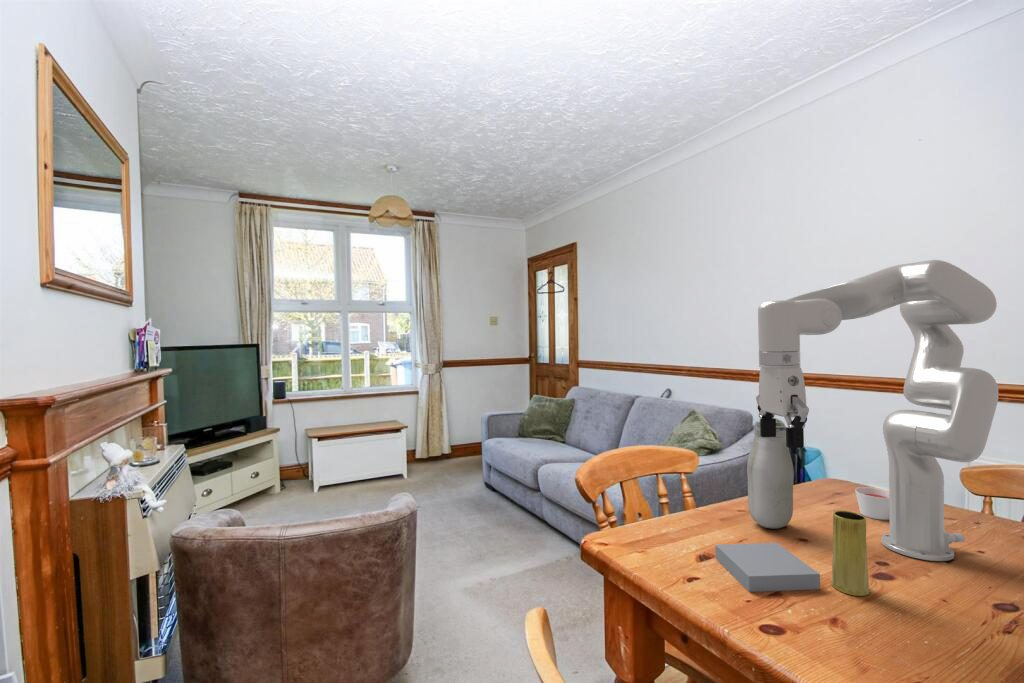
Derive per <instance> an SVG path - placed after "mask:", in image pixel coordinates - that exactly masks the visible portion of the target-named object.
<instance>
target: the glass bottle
mask: <svg viewBox="0 0 1024 683" xmlns="http://www.w3.org/2000/svg"><path fill="white" fill-rule="evenodd" d="M774 418H775V419H776V437H761V436H760V419H761V418H759V419H758V420H756V422H755V423H754V425H753V432H754V435H753V440H752V444H751V448H750V451H749V453H748V458H747V464H746V465H747V469H746V470H747V474H746V475H747V504H748V511H749V514H750V516H751V519H752V520H753V521H754V522H755V523H756V524H757V525H759V526H761V527H763V528H766V529H781V528H784V527H786V526H788V524H789V523H790V522H791V520H792V517H793V514H794V480H795V479H794V474H795V473H794V464H793V461H792V456H791V453H790V450H789V449H790V448H788V447H787V446H786V424H785V423H784V422H783V421H782V420H781V419H779V418H777V417H774Z"/></svg>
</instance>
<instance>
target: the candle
mask: <svg viewBox="0 0 1024 683" xmlns="http://www.w3.org/2000/svg"><path fill="white" fill-rule="evenodd" d="M854 491H855V495H856V496H855V497H856V499H857V500H856V501H857V505H858V509H859V512H860V513H859V514H861V515H863V516H865V517H866V518H870V519H874V520H880V521H888V520H889V521H890V515H889V489H885V488H878V487H873V486H872V487H870V486H869V487H868V486H867V487H866V486H861V487H856V488H855V489H854Z"/></svg>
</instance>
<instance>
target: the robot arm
mask: <svg viewBox="0 0 1024 683" xmlns="http://www.w3.org/2000/svg"><path fill="white" fill-rule="evenodd" d="M898 305H899V312H900V315H901V317H902V318H903V320H904V321H905V323H906V324H907V326H908V328H909V329H910V332H911V334H912V337H913V340H914V348H913V353H912V356H911V357H912V358H911V360H910V362H909V366H908V370H907V373H906V377H905V381H904V384H903V396H904V398H905V399H906V401H908V402H909V403H911V404H912V405H916V406H921V407H925V408H932V409H938V410H946V411H947V410H948V411H951V412H950V414H945V413H937V412H932V411H931V412H930V411H924V410H915V409H899V410H894V411H892V412H891V413H888V415H887V416H885V419H884V421H883V423H882V424H883V425H882V432H883V433H882V434H883V438H884V442H885V446H886V451H887V458H888V469H889V470H888V491H889V515H890V519H889V533H885V534H883V535H881V539H880V540H881V543H882V545H883V546H884V547H885V548H887V549H889V550H890V551H893V552H895V553H896V554H897V553H898V554H900V555H902V556H906V557H910V558H913V559H917V560H923V561H930V562H947V561H951V560H953V559H954V557H955V551H954V550H953V548H951V547H950V544H952V543H964V542H965V541H966V537H965V535H963V533H961V532H952V533H949V532H948V531H947V530H945V478H944V472H943V469H942V467H941V465H940V464H939V461H938V460H937V459H941V460H942V459H943V460H947V461H951V462H952V461H953V462H956V463H971V462H974V461H975V460H977V459H978V458H980V457H981V455H982V454H983V452H984V450H985V448H986V444H987V442H988V439H989V434H990V431H991V428H992V424H993V420H994V417H995V413H996V410H997V406H998V402H999V394H1000V393H999V387H998V383H997V381H996V379H995V377H994V375H992V374H991V373H990V372H987V371H986V370H983V369H981V368H980V369H979V368H975V367H962V366H961V365H962V360H963V357H964V352H965V351H964V350H965V349H964V345H963V342H962V340H961V339H960V337H959V336H958V335H957V333H956V332H954V330H953V329H952V328H951V326H950V325H974V324H981V323H983V322H985V321H987V320H989V319H990V318H992V317H993V315H994V314H995V312H996V309H997V307H998V306H997V305H998V304H997V298H996V296H995V294H994V292H993V291H992V290H991V288H990V287H989V286H987V285H986V284H985V283H983V282H982V281H980V280H979V279H977V278H976V277H974V276H973V275H971V274H970V273H968V272H967V271H965V270H963V269H962V268H960V267H958V266H957V265H955V264H952V263H950V262H948V261H944V260H940V259H930V260H923V261H917V262H910V263H902V264H898V265H892V266H889V267H886V268H884V269H880V270H877V271H874V272H872V273H868V274H866V275H863V276H859V277H858V278H855V279H852V280H848V281H845V282H842V283H841V282H840V283H837V284H834V285H831V286H828V287H825V288H820V289H818V290H814V291H810V292H806V293H803V294H800V295H797V296H794V297H790V298H788V299H785V300H772V301H771V300H769V301H763V302H761V303H760V304H759V305H758V308H757V328H758V329H757V331H758V332H757V333H758V337H757V338H758V366H759V368H760V370H759V377H758V378H759V379H758V395H757V396H755V400H756V403H757V410H758V412H759V413H758V417H759V419H760V436H761V437H776V419H775V418H776V417H775V415H776V416H779V417H784V420H785V422H786V425H787V427H786V446H787V447H788V449H796V448H797V449H799V448H802V449H803V448H804V447H805V441H804V440H805V437H804V436H805V435H804V434H805V433H804V432H805V431H804V429H805V428H806V423H807V422H808V415H809V413H810V408H809V406H807V396H806V395H807V394H806V385H805V378H804V373H803V370H802V367H801V336H821V335H825V334H829V333H832V332H834V331H835V330H836V329H838V327H839V326H840V325H841V323H842V321H846V320H847V321H848V320H856V319H862V318H865V317H866V318H867V317H870V316H873V315H875V314H877V313H880V312H883V311H885V310H887V309H888V310H889V309H891V308H893V307H896V306H898ZM792 418H793V419H792ZM936 458H937V459H936Z"/></svg>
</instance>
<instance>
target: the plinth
mask: <svg viewBox="0 0 1024 683" xmlns="http://www.w3.org/2000/svg"><path fill="white" fill-rule="evenodd" d="M714 548H715V550H714V551H715V554H714V555H715V559H716V560H717V561H718V562H719V563H720V564H721V566H723V567H724V569H726V571H728V572H729V574H731V576H733V578H734V579H736V581H738V582H739V583H740V584H741V585H742V586H743V587H744V588H745V589H746V590H747V591H748V592H750V593H753V592H755V593H757V592H779V591H780V592H781V591H782V592H783V591H785V592H786V591H806V590H807V591H811V590H821V574H820V573H819V572H818V571H816V570H815V569H814V568H812V567H811V566H810V565H808V563H806V562H804V561H803V560H801V559H800V558H799V557H798V556H796V555H794V553H792V552H790V551H789V550H788V549H786V548H785V547H783V546H782V545H781V544H779V542H760V543H759V542H757V543H753V542H752V543H729V544H728V543H727V544H725V543H724V544H722V543H721V544H715V547H714Z"/></svg>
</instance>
